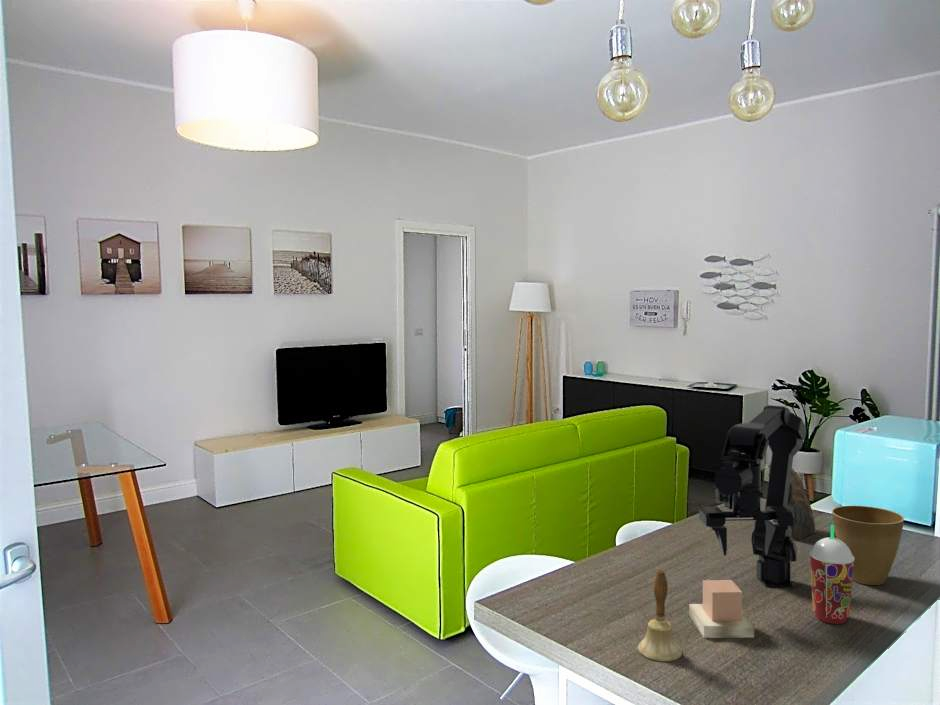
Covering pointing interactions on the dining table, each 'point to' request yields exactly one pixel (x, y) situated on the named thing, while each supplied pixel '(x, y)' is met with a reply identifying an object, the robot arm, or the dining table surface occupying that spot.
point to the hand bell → (660, 628)
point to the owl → (799, 508)
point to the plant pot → (869, 540)
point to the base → (720, 625)
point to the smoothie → (831, 579)
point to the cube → (722, 600)
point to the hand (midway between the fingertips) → (745, 554)
